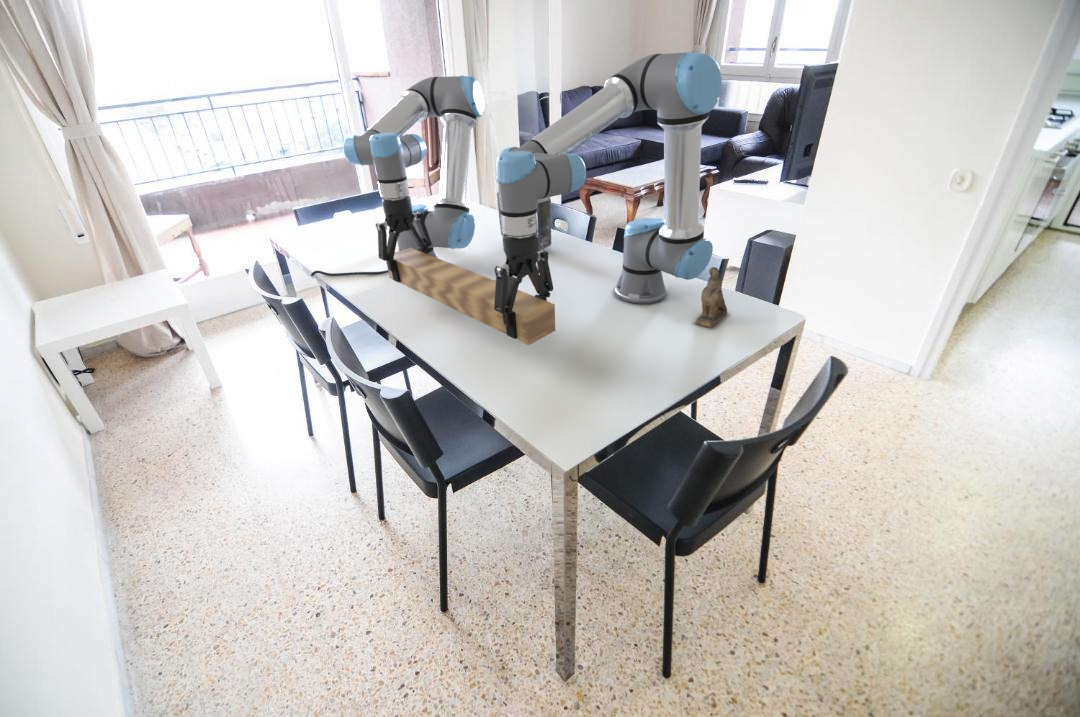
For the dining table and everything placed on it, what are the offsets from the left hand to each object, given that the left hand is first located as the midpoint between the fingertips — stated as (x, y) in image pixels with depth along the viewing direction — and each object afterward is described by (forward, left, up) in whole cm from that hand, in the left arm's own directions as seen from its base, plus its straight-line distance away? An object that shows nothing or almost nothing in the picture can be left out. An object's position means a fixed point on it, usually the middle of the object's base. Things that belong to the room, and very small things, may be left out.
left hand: (410, 275), depth 144 cm
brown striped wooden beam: (+22, -10, -1) cm, 25 cm away
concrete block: (+10, +63, -11) cm, 65 cm away
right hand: (+45, -20, 0) cm, 49 cm away
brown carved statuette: (+84, +21, -11) cm, 87 cm away
